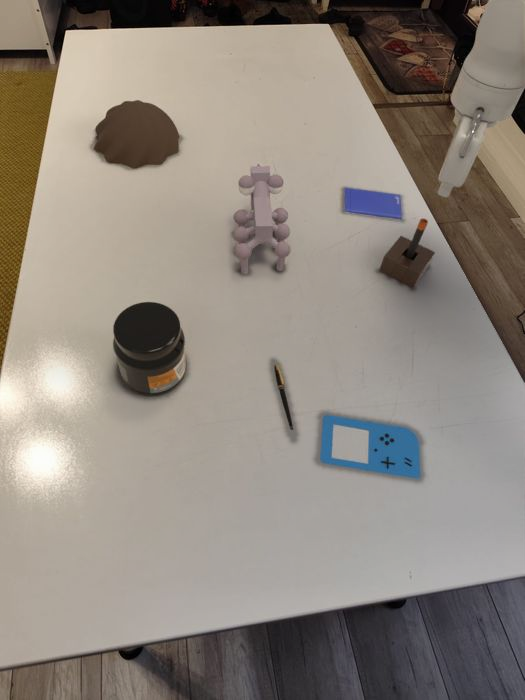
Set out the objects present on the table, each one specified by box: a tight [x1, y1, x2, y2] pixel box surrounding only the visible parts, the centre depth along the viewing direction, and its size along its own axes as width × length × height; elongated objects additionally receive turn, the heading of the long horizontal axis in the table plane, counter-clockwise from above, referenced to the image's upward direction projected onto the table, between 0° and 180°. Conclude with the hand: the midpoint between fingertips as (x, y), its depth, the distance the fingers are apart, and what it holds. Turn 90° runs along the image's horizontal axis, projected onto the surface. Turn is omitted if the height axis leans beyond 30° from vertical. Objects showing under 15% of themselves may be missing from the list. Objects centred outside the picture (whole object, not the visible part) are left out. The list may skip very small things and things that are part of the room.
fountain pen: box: [273, 364, 294, 431], centre depth 82 cm, size 14×1×2 cm, turn 11°
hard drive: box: [343, 187, 403, 221], centre depth 113 cm, size 2×8×12 cm
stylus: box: [405, 218, 429, 260], centre depth 97 cm, size 1×1×13 cm
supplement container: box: [112, 301, 187, 397], centre depth 79 cm, size 10×10×12 cm
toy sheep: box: [233, 163, 292, 275], centre depth 99 cm, size 20×11×14 cm, turn 3°
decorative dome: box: [93, 99, 181, 170], centre depth 116 cm, size 19×20×10 cm
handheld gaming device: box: [319, 414, 421, 479], centre depth 79 cm, size 8×1×15 cm
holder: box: [378, 235, 436, 290], centre depth 101 cm, size 7×7×5 cm
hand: (448, 177), depth 84 cm, fingers open, 8 cm apart
